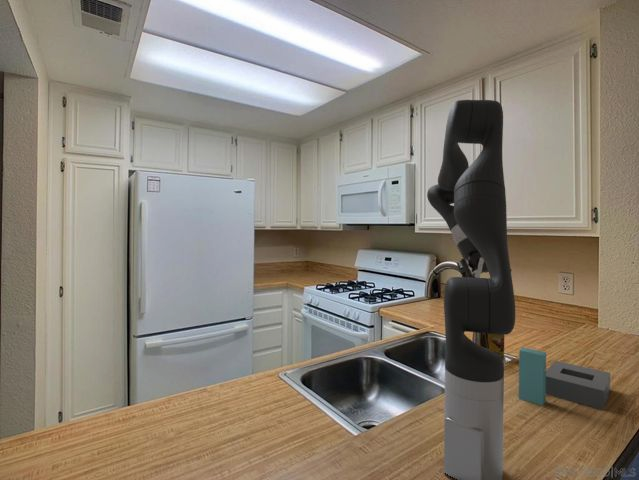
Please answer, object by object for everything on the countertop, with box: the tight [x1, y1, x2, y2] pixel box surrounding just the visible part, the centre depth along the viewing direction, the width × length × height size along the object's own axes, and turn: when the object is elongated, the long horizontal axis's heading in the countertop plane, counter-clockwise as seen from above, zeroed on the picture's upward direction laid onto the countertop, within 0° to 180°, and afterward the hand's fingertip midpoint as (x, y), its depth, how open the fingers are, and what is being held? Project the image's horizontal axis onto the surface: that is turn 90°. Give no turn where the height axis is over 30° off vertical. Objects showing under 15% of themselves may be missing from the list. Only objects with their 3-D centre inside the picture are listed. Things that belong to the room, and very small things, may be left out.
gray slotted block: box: [546, 360, 611, 411], centre depth 87 cm, size 14×12×4 cm
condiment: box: [488, 334, 506, 364], centre depth 111 cm, size 7×8×12 cm
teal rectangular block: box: [518, 346, 547, 407], centre depth 83 cm, size 3×5×12 cm, turn 45°
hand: (496, 292), depth 90 cm, fingers open, 8 cm apart
